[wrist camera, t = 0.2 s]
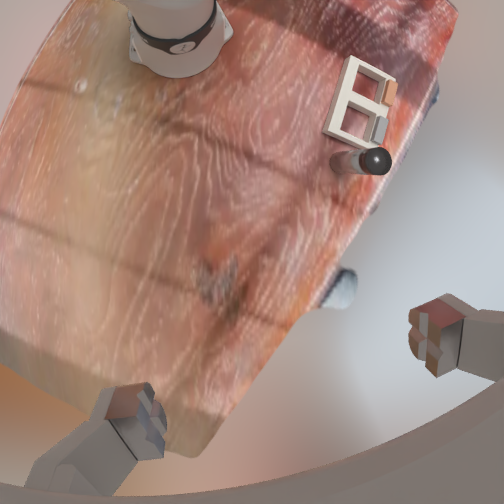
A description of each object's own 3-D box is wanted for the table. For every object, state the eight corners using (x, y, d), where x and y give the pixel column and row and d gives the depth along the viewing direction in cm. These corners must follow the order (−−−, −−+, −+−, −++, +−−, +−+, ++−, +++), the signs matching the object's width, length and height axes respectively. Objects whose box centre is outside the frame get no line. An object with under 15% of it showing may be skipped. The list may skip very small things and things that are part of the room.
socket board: (322, 132, 54) (331, 129, 49) (344, 59, 51) (354, 52, 46) (368, 153, 56) (380, 152, 51) (388, 82, 53) (399, 77, 48)
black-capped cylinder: (327, 154, 55) (365, 149, 40) (347, 150, 55) (388, 145, 41) (332, 175, 56) (370, 177, 41) (351, 171, 56) (393, 172, 42)
